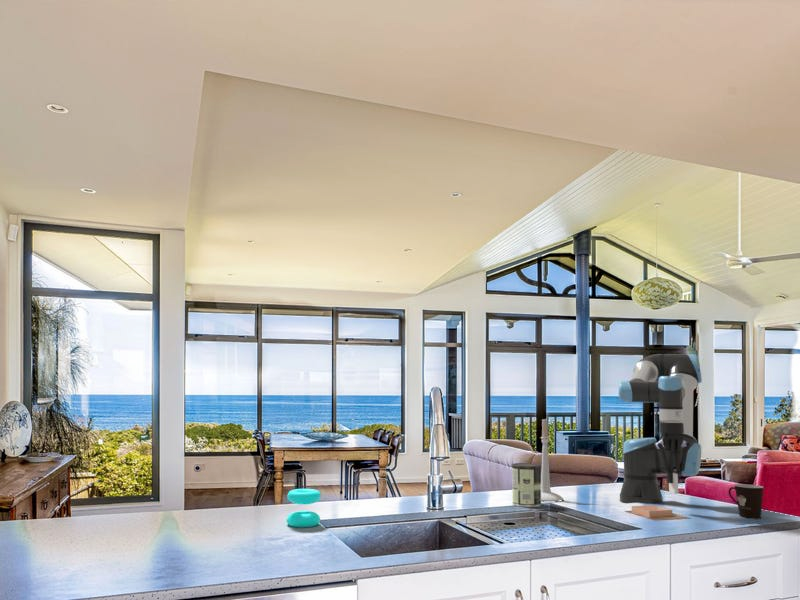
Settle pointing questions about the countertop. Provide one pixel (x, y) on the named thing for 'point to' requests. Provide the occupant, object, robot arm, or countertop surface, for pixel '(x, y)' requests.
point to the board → (674, 516)
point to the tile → (651, 511)
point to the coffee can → (526, 484)
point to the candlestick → (546, 468)
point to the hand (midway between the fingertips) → (673, 493)
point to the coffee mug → (748, 500)
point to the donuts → (303, 516)
